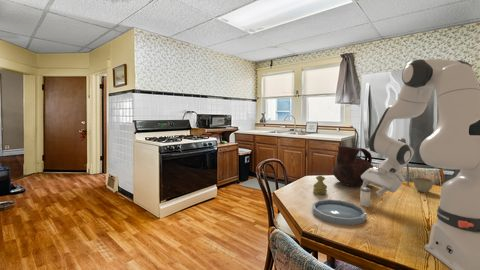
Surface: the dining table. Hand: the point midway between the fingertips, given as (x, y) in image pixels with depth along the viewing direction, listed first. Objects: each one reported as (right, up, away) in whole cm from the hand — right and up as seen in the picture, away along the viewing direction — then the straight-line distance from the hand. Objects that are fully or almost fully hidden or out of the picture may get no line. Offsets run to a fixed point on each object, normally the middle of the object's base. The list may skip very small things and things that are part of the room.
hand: (369, 191), depth 120 cm
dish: (-20, -8, -10) cm, 24 cm away
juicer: (+41, -4, +38) cm, 56 cm away
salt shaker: (-19, -5, +18) cm, 27 cm away
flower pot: (+44, -5, +23) cm, 49 cm away
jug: (+9, -4, +35) cm, 37 cm away
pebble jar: (-2, -7, 0) cm, 7 cm away
